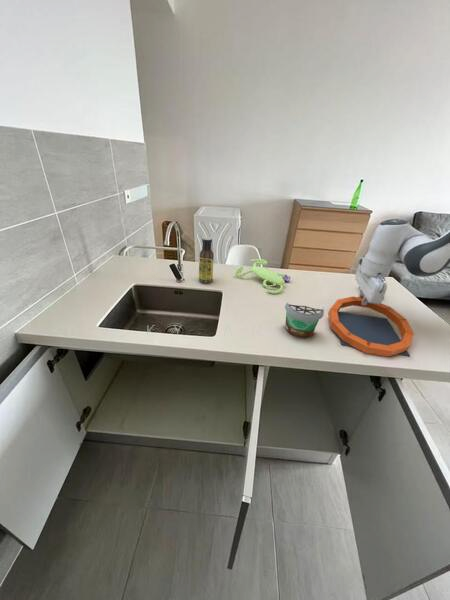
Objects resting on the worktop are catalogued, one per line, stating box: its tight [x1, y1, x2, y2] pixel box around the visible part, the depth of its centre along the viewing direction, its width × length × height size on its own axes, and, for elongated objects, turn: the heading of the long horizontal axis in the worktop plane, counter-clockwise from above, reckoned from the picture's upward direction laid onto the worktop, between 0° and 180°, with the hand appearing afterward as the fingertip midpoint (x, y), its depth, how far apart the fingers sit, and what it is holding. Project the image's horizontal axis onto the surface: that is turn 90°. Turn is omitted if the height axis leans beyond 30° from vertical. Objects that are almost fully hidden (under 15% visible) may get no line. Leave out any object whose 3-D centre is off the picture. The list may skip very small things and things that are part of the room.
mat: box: [337, 310, 411, 357], centre depth 84 cm, size 20×20×1 cm
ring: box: [327, 296, 415, 357], centre depth 83 cm, size 25×25×3 cm
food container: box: [284, 301, 325, 339], centre depth 78 cm, size 12×6×10 cm, turn 76°
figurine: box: [234, 258, 291, 295], centre depth 113 cm, size 18×27×6 cm
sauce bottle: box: [198, 236, 215, 284], centre depth 105 cm, size 6×6×20 cm
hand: (361, 301), depth 91 cm, fingers closed on ring, 2 cm apart
